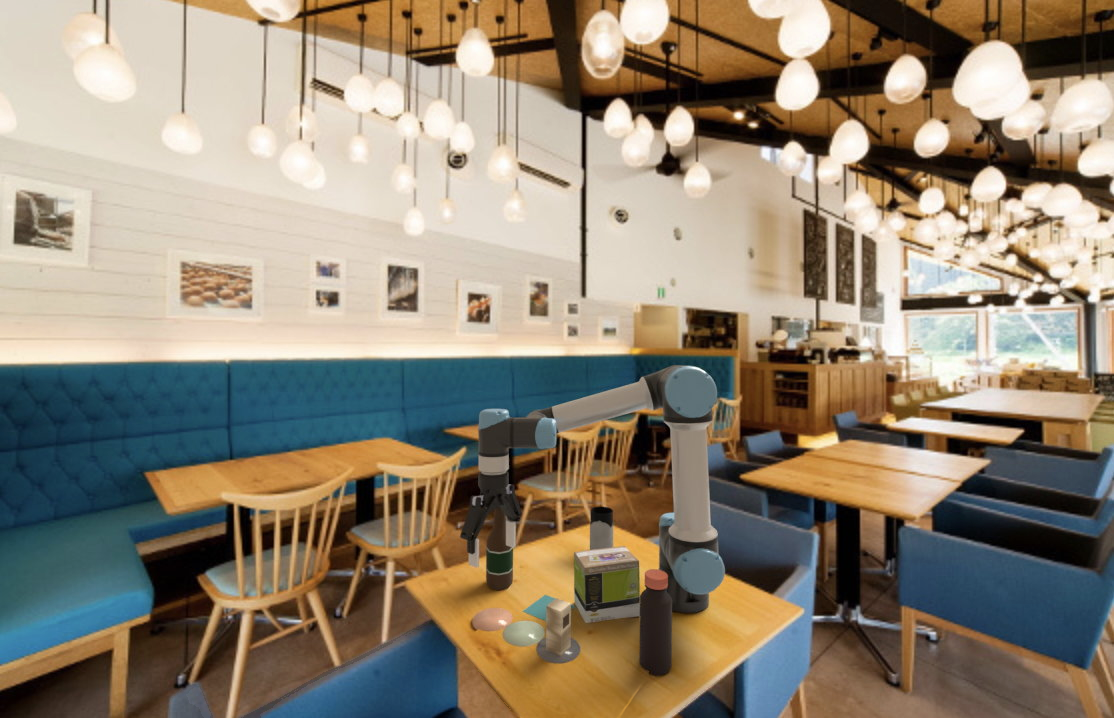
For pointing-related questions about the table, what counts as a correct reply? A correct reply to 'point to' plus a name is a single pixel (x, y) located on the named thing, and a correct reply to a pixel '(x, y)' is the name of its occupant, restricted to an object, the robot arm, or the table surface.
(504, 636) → the saucer middle
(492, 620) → the pink round disc
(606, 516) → the black and grey mug
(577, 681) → the table surface
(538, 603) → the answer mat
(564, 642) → the letter block
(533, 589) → the table surface
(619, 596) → the coffee pod box
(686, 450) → the robot arm
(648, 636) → the vinegar
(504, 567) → the beer bottle
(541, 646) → the grey flat round disc
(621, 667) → the table surface
